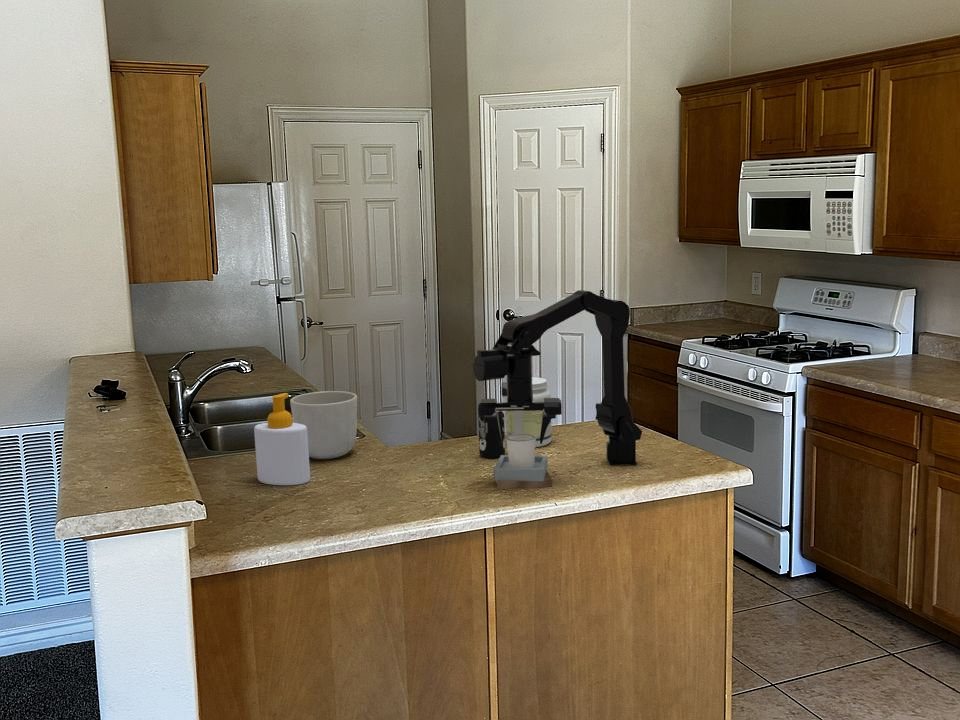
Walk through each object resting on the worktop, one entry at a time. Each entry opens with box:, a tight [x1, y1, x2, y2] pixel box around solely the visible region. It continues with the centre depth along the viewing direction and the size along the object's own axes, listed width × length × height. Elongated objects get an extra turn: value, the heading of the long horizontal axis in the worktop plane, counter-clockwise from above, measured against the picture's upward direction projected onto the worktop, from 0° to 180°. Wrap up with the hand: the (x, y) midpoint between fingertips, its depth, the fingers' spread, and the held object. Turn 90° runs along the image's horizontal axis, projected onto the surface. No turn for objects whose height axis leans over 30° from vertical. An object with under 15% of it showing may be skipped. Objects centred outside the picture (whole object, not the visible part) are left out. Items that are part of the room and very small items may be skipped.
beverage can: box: [477, 411, 506, 459], centre depth 225 cm, size 7×7×12 cm
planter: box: [289, 390, 358, 460], centre depth 229 cm, size 17×17×15 cm
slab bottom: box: [493, 466, 553, 490], centre depth 204 cm, size 12×12×2 cm
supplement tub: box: [504, 376, 553, 448], centre depth 235 cm, size 12×12×17 cm
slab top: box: [493, 454, 549, 481], centre depth 204 cm, size 11×11×3 cm
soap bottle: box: [253, 392, 311, 486], centre depth 208 cm, size 13×8×20 cm, turn 71°
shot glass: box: [505, 434, 536, 468], centre depth 203 cm, size 7×7×7 cm
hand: (520, 443), depth 203 cm, fingers open, 9 cm apart
